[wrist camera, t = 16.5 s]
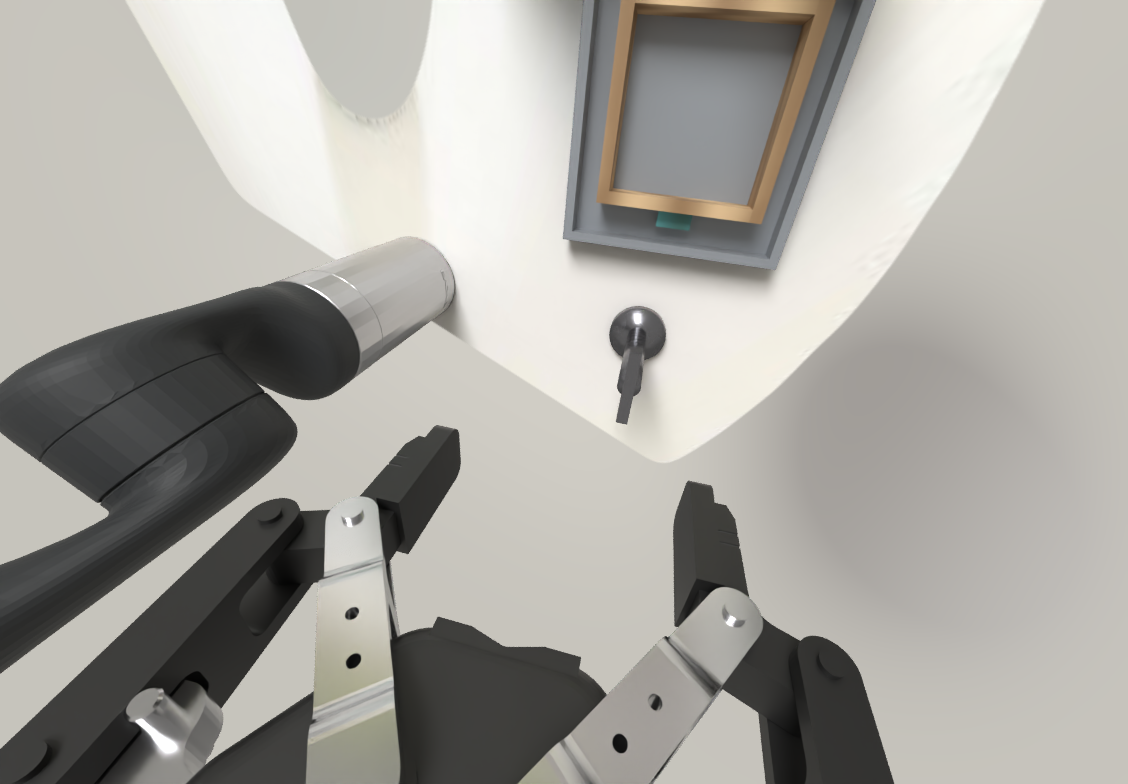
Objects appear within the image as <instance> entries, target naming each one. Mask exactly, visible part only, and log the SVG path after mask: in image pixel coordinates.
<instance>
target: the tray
mask: <svg viewBox="0 0 1128 784" xmlns="http://www.w3.org/2000/svg"><path fill="white" fill-rule="evenodd" d="M875 2H876V0H836V2H835V5H834V8H833V11H832V14H831V17H830V20H829V23H828V26H827V29H826V32H825V35H824V38H823V41H822V44H821V47H820V50H819V53H818V56H817V59H816V62H815V65H814V68H813V71H812V74H811V77H810V80H809V83H808V86H807V89H806V92H805V95H804V98H803V101H802V104H801V107H800V110H799V113H798V116H797V119H796V122H795V125H794V128H793V131H792V134H791V137H790V140H789V143H788V146H787V149H786V152H785V155H784V158H783V161H782V164H781V167H780V170H779V173H778V176H777V179H776V182H775V185H774V188H773V191H772V194H771V197H770V200H769V203H768V206H767V209H766V212H765V215H764V218H763V221H762V224H755V223H748V222H740V221H732V220H725V219H717V218H710V217H702V216H695V215H693V216H692V220H691V225H690V229H689V231H687V230H679V229H672V228H665V227H658V226H656V221H657V216H658V211H657V210H649V209H642V208H634V207H626V206H619V205H611V204H604V203H596V199H597V191H598V183H599V175H600V167H601V159H602V151H603V143H604V134H605V126H606V118H607V110H608V102H609V94H610V86H611V78H612V70H613V62H614V53H615V45H616V37H617V29H618V21H619V13H620V5H621V0H584V1H583V13H582V24H581V36H580V47H579V59H578V70H577V82H576V93H575V105H574V117H573V128H572V140H571V151H570V163H569V174H568V186H567V197H566V209H565V220H564V232H563V239H567V240H573V241H580V242H587V243H594V244H601V245H608V246H615V247H621V248H628V249H635V250H642V251H649V252H656V253H663V254H669V255H676V256H683V257H690V258H697V259H704V260H711V261H717V262H724V263H731V264H738V265H745V266H752V267H759V268H765V269H772V270H776V267H777V265H778V262H779V259H780V257H781V254H782V251H783V249H784V246H785V243H786V241H787V238H788V235H789V233H790V230H791V227H792V224H793V222H794V219H795V216H796V214H797V211H798V208H799V206H800V203H801V200H802V198H803V195H804V192H805V190H806V187H807V184H808V182H809V179H810V176H811V174H812V171H813V168H814V166H815V163H816V160H817V158H818V155H819V152H820V149H821V147H822V144H823V141H824V139H825V136H826V133H827V131H828V128H829V125H830V123H831V120H832V117H833V115H834V112H835V109H836V107H837V104H838V101H839V99H840V96H841V93H842V91H843V88H844V85H845V83H846V80H847V77H848V74H849V72H850V69H851V66H852V64H853V61H854V58H855V56H856V53H857V50H858V48H859V45H860V42H861V40H862V37H863V34H864V32H865V29H866V26H867V24H868V21H869V18H870V16H871V13H872V10H873V8H874V5H875ZM802 26H803V25H790V24H775V23H761V22H746V21H732V20H717V19H702V18H688V17H673V16H658V15H644V14H638V15H637V22H636V29H635V36H634V43H633V50H632V58H631V65H630V72H629V79H628V86H627V93H626V100H625V107H624V114H623V121H622V128H621V135H620V142H619V149H618V156H617V163H616V171H615V178H614V185H613V188H616V189H624V190H632V191H640V192H648V193H655V194H663V195H671V196H679V197H687V198H695V199H703V200H711V201H719V202H727V203H734V204H742V205H747V204H748V200H749V197H750V194H751V191H752V188H753V184H754V181H755V178H756V175H757V171H758V168H759V165H760V162H761V158H762V155H763V152H764V149H765V145H766V142H767V139H768V136H769V132H770V129H771V126H772V123H773V119H774V116H775V113H776V110H777V107H778V103H779V100H780V97H781V94H782V90H783V87H784V84H785V81H786V77H787V74H788V71H789V68H790V64H791V61H792V58H793V55H794V51H795V48H796V45H797V42H798V39H799V35H800V32H801V29H802Z"/></svg>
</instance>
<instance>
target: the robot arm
mask: <svg viewBox="0 0 1128 784" xmlns="http://www.w3.org/2000/svg"><path fill="white" fill-rule="evenodd" d="M453 295H454V278H453V274H452V271H451V269H450V267H449V265H448V263H447V261H446V259H445V258H444V257H443V256H442V254H441V253H440V252H439V251H438V250H437V249H436V248H435V247H433V246H432V245H430V244H429V243H427V242H426V241H423V240H421V239H418V238H413V237H403V238H399V239H396V240H393V241H390V242H387V243H384V244H381V245H378V246H375V247H372V248H370V249H367V250H364V251H361V252H358V253H355V254H353V255H350V256H347V257H344V258H341V259H338V260H336V261H333V262H330V263H327V264H324V265H321V266H319V267H316V268H313V269H310V270H307V271H304V272H302V273H299V274H297V275H294V276H291V277H288V278H285V279H282V280H280V281H277V282H274V283H271V284H268V285H266V286H263V287H255V288H249V289H246V290H241V291H238V292H235V293H232V294H229V295H226V296H223V297H220V298H217V299H213V300H210V301H206V302H203V303H200V304H196V305H192V306H189V307H185V308H181V309H178V310H174V311H170V312H167V313H163V314H159V315H155V316H152V317H148V318H145V319H141V320H137V321H134V322H131V323H127V324H124V325H121V326H118V327H114V328H111V329H107V330H104V331H102V332H99V333H96V334H93V335H90V336H87V337H85V338H82V339H80V340H77V341H74V342H72V343H69V344H67V345H64V346H62V347H59V348H57V349H55V350H53V351H51V352H49V353H47V354H45V355H43V356H41V357H39V358H38V359H36V360H34V361H32V362H30V363H28V364H26V365H25V366H23V367H22V368H20V369H18V370H17V371H15V372H14V373H13V374H12V375H10V376H9V377H8V378H7V379H6V380H4V381H3V382H2V383H1V384H0V432H1V433H2V434H3V435H4V436H6V437H7V438H8V439H9V440H11V441H12V442H13V443H15V444H16V445H17V446H19V447H20V448H22V449H23V450H24V451H26V452H27V453H28V454H30V455H31V456H33V457H34V458H35V459H37V460H38V461H39V462H42V464H44V465H45V466H46V467H48V468H49V469H51V470H52V471H53V472H55V473H56V474H58V475H59V476H60V477H62V478H63V479H65V480H66V481H67V482H69V483H70V484H72V485H73V486H74V487H76V488H77V489H78V490H80V491H81V492H83V493H84V494H86V495H87V496H88V497H90V498H91V499H92V500H94V501H95V502H97V503H99V502H101V504H100V505H101V506H103V507H104V508H105V509H107V510H108V511H109V515H108V517H106V518H105V519H103V520H101V521H99V522H98V523H96V524H94V525H92V526H90V527H88V528H86V529H84V530H82V531H80V532H78V533H76V534H74V535H72V536H70V537H68V538H66V539H63V540H61V541H59V542H56V543H54V544H52V545H49V546H47V547H44V548H42V549H40V550H37V551H35V552H33V553H30V554H28V555H26V556H23V557H21V558H18V559H15V560H13V561H10V562H7V563H4V564H2V565H0V673H2V672H3V671H4V670H6V669H7V668H8V667H10V666H11V665H12V664H13V663H15V662H16V661H18V660H19V659H20V658H21V657H23V656H24V655H25V654H27V653H28V652H29V651H31V650H32V649H33V648H35V647H36V646H37V645H39V644H40V643H41V642H43V641H44V640H45V639H47V638H48V637H49V636H51V635H52V634H53V633H55V632H56V631H57V630H59V629H60V628H61V627H63V626H64V625H66V624H67V623H68V622H70V621H71V620H72V619H74V618H75V617H76V616H78V615H79V614H80V613H82V612H83V611H85V610H86V609H87V608H89V607H90V606H91V605H93V604H94V603H95V602H97V601H98V600H99V599H101V598H102V597H103V596H105V595H106V594H108V593H109V592H110V591H112V590H113V589H114V588H115V587H117V586H118V585H120V584H121V583H122V582H124V581H125V580H126V579H128V578H129V577H131V576H132V575H133V574H135V573H136V572H137V571H139V570H140V569H141V568H143V567H144V566H145V565H147V564H148V563H149V562H151V561H152V560H154V559H155V558H156V557H158V556H159V555H160V554H162V553H163V552H164V551H166V550H167V549H168V548H170V547H171V546H172V545H174V544H175V543H177V542H178V541H179V540H181V539H182V538H183V537H185V536H186V535H188V534H189V533H190V532H192V531H193V530H194V529H196V528H197V527H198V526H200V525H201V524H202V523H204V522H205V521H207V520H208V519H209V518H211V517H212V516H213V515H215V514H216V513H217V512H219V511H220V510H221V509H223V508H224V507H225V506H227V505H228V504H229V503H231V502H232V501H233V500H235V499H236V498H237V497H239V496H240V495H241V494H242V493H244V492H245V491H246V490H248V489H249V488H250V487H251V486H253V485H254V484H255V483H256V482H257V481H259V480H260V479H261V478H262V477H263V476H265V475H266V474H267V473H268V472H269V471H270V470H271V469H272V468H273V467H275V466H276V465H277V464H278V462H280V461H281V460H282V459H283V457H284V456H285V455H286V454H287V453H288V451H289V450H290V449H291V447H292V446H293V444H294V442H295V441H296V437H297V427H296V424H295V423H294V421H293V420H292V419H291V417H290V416H289V415H288V414H287V413H286V411H285V410H284V409H283V408H282V407H281V406H280V405H279V404H278V403H277V402H276V401H274V399H272V397H271V396H270V395H268V394H267V393H264V390H263V389H262V388H261V387H260V386H259V385H258V384H260V385H262V386H264V387H266V388H268V389H270V390H273V391H275V392H277V393H279V394H282V395H285V396H288V397H292V398H296V399H301V400H316V399H320V398H324V397H327V396H329V395H331V394H333V393H334V392H336V391H338V390H339V389H341V388H342V387H343V386H345V385H346V384H347V383H349V382H350V381H351V380H352V379H354V378H355V377H356V376H358V375H359V374H360V373H362V372H363V371H364V370H366V369H367V368H368V367H370V366H371V365H372V364H373V363H375V362H376V361H377V360H379V359H380V358H381V357H383V356H384V355H386V354H387V353H388V352H389V351H391V350H392V349H394V348H395V347H396V346H398V345H399V344H400V343H402V342H403V341H404V340H406V339H407V338H408V337H410V336H411V335H412V334H414V333H415V332H416V331H418V330H419V329H420V328H422V327H423V326H424V325H426V324H427V323H429V322H430V321H431V320H433V319H434V318H435V317H437V316H438V315H439V314H441V313H442V312H443V311H444V310H445V309H446V308H447V307H448V306H449V305H450V303H451V301H452V299H453ZM460 464H461V458H460V442H459V432H458V430H457V429H452V428H448V427H443V426H439V425H436V426H435V427H434V428H433V429H432V430H431V431H430V432H429V433H428V435H427V436H426V437H421V436H418V437H416V438H415V439H413V440H411V441H410V442H408V443H406V444H405V445H404V446H403V447H402V449H401V450H400V451H399V452H398V453H397V455H396V456H395V457H394V458H393V459H392V460H391V461H390V462H389V465H387V466H386V467H385V468H384V469H383V470H382V471H381V473H380V474H379V475H378V476H377V477H376V478H375V479H374V481H373V482H372V483H371V484H370V485H369V486H368V488H367V489H366V490H365V491H364V492H363V493H362V494H361V495H360V496H359V497H352V498H349V499H346V500H343V501H341V502H339V503H338V504H337V505H335V506H334V507H333V508H332V509H331V510H319V511H300V508H299V506H298V504H297V503H296V502H295V501H293V500H291V499H287V498H279V499H273V500H269V501H266V502H264V503H261V504H260V505H258V506H256V507H255V508H253V509H252V510H251V511H250V512H248V513H247V514H246V515H245V516H244V517H243V518H242V519H241V520H240V521H239V522H238V523H237V524H236V525H235V526H234V527H233V528H231V529H230V530H229V531H228V532H227V533H226V534H225V535H224V536H223V537H222V538H221V539H220V540H219V541H218V542H217V543H216V544H215V545H214V546H213V547H212V548H211V549H209V550H208V551H207V552H206V554H204V555H203V556H202V557H201V558H200V559H199V560H198V561H197V562H196V563H195V564H194V565H193V566H192V567H191V568H190V569H189V570H188V571H186V572H185V573H184V574H183V575H182V576H181V577H180V578H179V579H178V580H177V581H176V582H175V583H174V584H173V585H172V586H171V587H170V588H169V589H168V590H167V591H165V593H163V594H162V595H161V596H160V597H159V598H158V599H157V600H156V601H155V602H154V603H153V604H152V605H151V606H150V607H149V608H148V609H147V610H146V611H145V612H144V613H142V615H140V616H139V617H138V618H137V619H136V620H135V621H134V622H133V623H132V624H131V625H130V626H129V627H128V628H127V629H126V630H125V631H124V632H123V633H122V634H121V635H120V636H118V637H117V638H116V639H115V640H114V641H113V642H112V643H111V644H110V645H109V646H108V647H107V648H106V649H105V650H104V651H103V652H102V653H101V654H100V655H99V656H97V657H96V658H95V659H94V660H93V661H92V662H91V663H90V664H89V665H88V666H87V667H86V668H85V669H84V670H83V671H82V672H81V673H80V674H79V675H78V676H77V677H75V678H74V679H73V680H72V681H71V682H70V683H69V684H68V685H67V686H66V687H65V688H64V689H63V690H62V691H61V692H60V693H59V694H58V695H57V696H56V697H54V698H53V699H52V700H51V701H50V702H49V703H48V704H47V705H46V706H45V707H44V708H43V709H42V710H41V711H40V712H39V713H38V714H37V715H36V716H35V717H34V718H32V720H30V721H29V722H28V723H27V725H25V726H24V727H23V728H22V729H21V730H20V731H19V732H18V733H17V734H16V735H15V736H14V737H13V738H12V739H11V740H9V741H8V742H7V743H6V744H5V745H4V746H3V747H2V748H1V749H0V784H653V783H654V782H655V781H656V779H657V778H658V777H659V775H660V774H661V772H662V771H663V770H664V768H665V767H666V766H667V764H668V763H669V762H670V760H671V758H672V757H673V756H674V755H675V753H676V752H677V751H678V749H679V748H680V746H681V745H682V744H683V742H684V741H685V739H686V738H687V737H688V735H689V734H690V732H691V731H692V730H693V728H694V727H695V726H696V724H697V723H698V722H699V720H700V719H701V718H702V716H703V715H704V714H705V712H706V711H707V710H708V708H709V707H710V705H711V704H712V703H713V701H714V700H715V699H716V697H717V696H718V695H719V693H720V692H721V691H722V689H724V690H725V691H726V692H728V693H730V694H731V695H732V696H734V697H736V698H737V699H739V700H740V701H742V702H743V703H745V704H746V705H748V706H749V707H751V708H752V709H754V710H755V711H757V712H758V714H759V723H760V733H761V743H762V752H763V762H764V770H765V781H766V784H894V782H893V778H892V775H891V772H890V768H889V766H888V762H887V759H886V755H885V752H884V749H883V746H882V742H881V739H880V736H879V732H878V729H877V726H876V723H875V720H874V716H873V713H872V710H871V707H870V703H869V700H868V697H867V693H866V690H865V687H864V684H863V680H862V677H861V674H860V672H859V670H858V668H857V666H856V665H855V663H854V662H853V660H852V659H851V658H850V656H849V655H848V654H847V653H846V652H845V651H844V650H843V649H841V648H840V647H839V646H838V645H836V644H835V643H833V642H831V641H830V640H828V639H825V638H823V637H819V636H808V637H805V638H803V639H802V640H801V641H799V640H798V639H796V638H794V637H792V636H790V635H789V634H787V633H785V632H783V631H782V630H780V629H778V628H776V627H775V626H773V625H771V624H770V623H769V622H767V621H766V620H765V619H764V618H763V617H762V616H761V613H760V611H759V609H758V608H757V606H756V605H755V603H754V602H753V601H752V600H751V599H750V598H749V594H748V590H747V584H746V579H745V573H744V567H743V562H742V556H741V551H740V549H739V546H740V545H739V539H738V537H737V528H736V523H735V519H734V517H733V516H732V514H731V512H730V511H729V509H728V508H727V506H726V505H722V504H718V503H714V495H713V488H712V486H711V485H706V484H702V483H697V482H692V481H688V482H687V483H686V486H685V489H684V491H683V494H682V497H681V500H680V503H679V506H678V509H677V511H676V515H675V519H674V530H673V538H674V539H673V544H674V614H675V615H674V618H675V619H674V621H675V626H676V627H678V628H677V629H676V630H675V631H674V632H673V633H672V634H671V635H670V636H669V637H666V636H665V637H663V638H662V639H661V640H660V641H659V642H658V643H657V644H656V645H655V646H654V647H653V648H652V649H651V650H650V651H649V652H648V653H647V654H646V655H645V656H644V657H643V658H642V659H641V660H640V661H639V662H638V663H637V665H635V667H634V668H633V669H632V670H631V671H630V672H629V673H628V674H627V675H626V676H625V677H624V678H623V679H622V680H621V681H620V682H619V683H618V684H617V685H616V686H615V687H614V689H612V691H611V692H610V693H609V694H608V695H606V693H605V692H604V691H603V689H602V688H601V687H600V686H599V685H598V684H597V683H596V681H595V680H594V679H592V678H591V677H590V676H589V675H587V674H586V673H585V672H583V671H582V670H580V669H579V666H580V661H581V657H578V656H575V655H571V654H568V653H564V652H560V651H557V650H553V649H550V648H546V647H505V646H502V645H500V644H499V643H497V642H496V641H494V640H492V639H491V638H489V637H488V636H486V635H485V634H483V633H482V632H480V631H478V630H477V629H475V628H474V627H472V626H469V625H465V624H462V623H459V622H455V621H452V620H448V619H445V618H441V617H437V620H436V622H435V624H434V626H433V628H423V629H418V630H414V631H411V632H407V633H405V634H402V635H400V631H399V625H398V619H397V612H396V603H395V595H394V587H393V578H392V570H391V563H390V560H391V558H392V557H393V556H394V554H395V552H396V551H399V552H402V553H406V554H409V552H410V551H411V549H412V547H413V546H414V544H415V543H416V541H417V540H418V538H419V536H420V534H421V533H422V532H423V530H424V529H425V527H426V525H427V524H428V522H429V521H430V519H431V517H432V516H433V514H434V513H435V511H436V509H437V508H438V506H439V505H440V503H441V502H442V500H443V498H444V497H445V495H446V494H447V492H448V490H449V489H450V487H451V486H452V484H453V483H454V481H455V479H456V478H457V475H458V473H459V470H460ZM315 582H318V598H317V623H316V651H315V677H314V691H313V692H312V693H311V694H309V695H308V696H306V697H304V698H303V699H302V700H300V701H299V702H297V703H295V704H294V705H292V706H291V707H290V708H288V709H286V710H285V711H284V712H282V713H281V714H279V715H278V716H276V717H275V718H273V719H272V720H270V721H268V722H267V723H265V724H264V725H262V726H261V727H260V728H258V729H257V730H255V731H253V732H252V733H250V734H249V735H248V736H246V737H245V738H243V739H241V740H240V741H239V742H237V743H235V744H234V745H232V746H231V747H229V748H228V749H226V750H225V751H224V752H222V753H221V754H219V755H218V756H216V757H215V758H214V759H212V760H211V761H210V762H208V763H207V764H206V765H205V763H206V759H207V758H208V757H209V755H210V754H211V752H212V750H213V747H214V743H215V741H216V740H217V738H218V736H219V734H220V732H221V729H222V725H223V713H222V710H221V708H222V707H223V705H224V704H225V703H226V701H227V700H228V698H229V697H230V696H231V694H232V693H233V692H234V690H235V689H236V688H237V686H238V685H239V683H240V682H241V681H242V679H243V678H244V677H245V675H246V674H247V673H248V671H249V670H250V668H251V667H252V666H253V664H254V663H255V662H256V660H257V659H258V658H259V656H260V655H261V654H262V652H263V651H264V649H265V648H266V647H267V645H268V644H269V643H270V641H271V640H272V639H273V637H274V636H275V634H276V633H277V632H278V630H279V629H280V628H281V626H282V625H283V624H284V622H285V621H286V619H287V618H288V617H289V615H290V614H291V613H292V611H293V610H294V609H295V607H296V606H297V604H298V603H299V601H300V600H301V599H302V598H303V596H304V595H305V593H306V592H307V591H308V590H309V588H310V587H311V585H312V584H313V583H315Z"/></svg>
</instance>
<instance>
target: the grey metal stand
mask: <svg viewBox="0 0 1128 784" xmlns="http://www.w3.org/2000/svg"><path fill="white" fill-rule="evenodd" d="M609 336H610V342H611V345H612V347H613V348H614V350H615V351H616V352H617V353H618V354H619V355H620V356H622V357H623V360H622V365H621V370H620V374H619V379H618V384H617V389H618V391H619V392H620V393H621V398H620V403H619V408H618V413H617V418H616V422H617V423H622V424H627V422H628V417H629V413H630V408H631V404H632V399H633V396H635V395H637V394H638V393H639V392H640V389H641V381H642V372H643V363H644V360H646V359H649V358H651V357H653V356H655V355H656V354H657V353H658V352H659V351H660V350H661V348H662V347H663V345H664V342H665V337H666V329H665V324H664V322H663V320H662V318H661V317H660V316H659V315H658V314H657V313H656V312H655V311H653V310H652V309H649V308H647V307H642V306H635V307H630V308H627V309H625V310H623V311H621V312H620V313H619V314H618V315H617V316H616V317H615V319H614V320H613V322H612V325H611V328H610V334H609Z"/></svg>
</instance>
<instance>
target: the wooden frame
mask: <svg viewBox="0 0 1128 784" xmlns="http://www.w3.org/2000/svg"><path fill="white" fill-rule="evenodd" d="M835 2H836V0H621V5H620V13H619V21H618V29H617V37H616V45H615V53H614V62H613V70H612V78H611V86H610V94H609V102H608V110H607V118H606V126H605V134H604V143H603V151H602V159H601V167H600V175H599V183H598V191H597V199H596V203H604V204H611V205H619V206H626V207H634V208H642V209H649V210H657V211H658V216H657V221H656V226H658V227H665V228H672V229H679V230H687V231H689V229H690V225H691V220H692V216H693V215H695V216H702V217H710V218H717V219H725V220H732V221H740V222H748V223H755V224H762V221H763V218H764V215H765V212H766V209H767V206H768V203H769V200H770V197H771V194H772V191H773V188H774V185H775V182H776V179H777V176H778V173H779V170H780V167H781V164H782V161H783V158H784V155H785V152H786V149H787V146H788V143H789V140H790V137H791V134H792V131H793V128H794V125H795V122H796V119H797V116H798V113H799V110H800V107H801V104H802V101H803V98H804V95H805V92H806V89H807V86H808V83H809V80H810V77H811V74H812V71H813V68H814V65H815V62H816V59H817V56H818V53H819V50H820V47H821V44H822V41H823V38H824V35H825V32H826V29H827V26H828V23H829V20H830V17H831V14H832V11H833V8H834V5H835ZM638 14H644V15H658V16H673V17H688V18H702V19H717V20H732V21H746V22H761V23H775V24H790V25H803V26H802V29H801V32H800V35H799V39H798V42H797V45H796V48H795V51H794V55H793V58H792V61H791V64H790V68H789V71H788V74H787V77H786V81H785V84H784V87H783V90H782V94H781V97H780V100H779V103H778V107H777V110H776V113H775V116H774V119H773V123H772V126H771V129H770V132H769V136H768V139H767V142H766V145H765V149H764V152H763V155H762V158H761V162H760V165H759V168H758V171H757V175H756V178H755V181H754V184H753V188H752V191H751V194H750V197H749V200H748V204H747V205H742V204H734V203H727V202H719V201H711V200H703V199H695V198H687V197H679V196H671V195H663V194H655V193H648V192H640V191H632V190H624V189H616V188H613V185H614V178H615V171H616V163H617V156H618V149H619V142H620V135H621V128H622V121H623V114H624V107H625V100H626V93H627V86H628V79H629V72H630V65H631V58H632V50H633V43H634V36H635V29H636V22H637V15H638Z"/></svg>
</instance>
